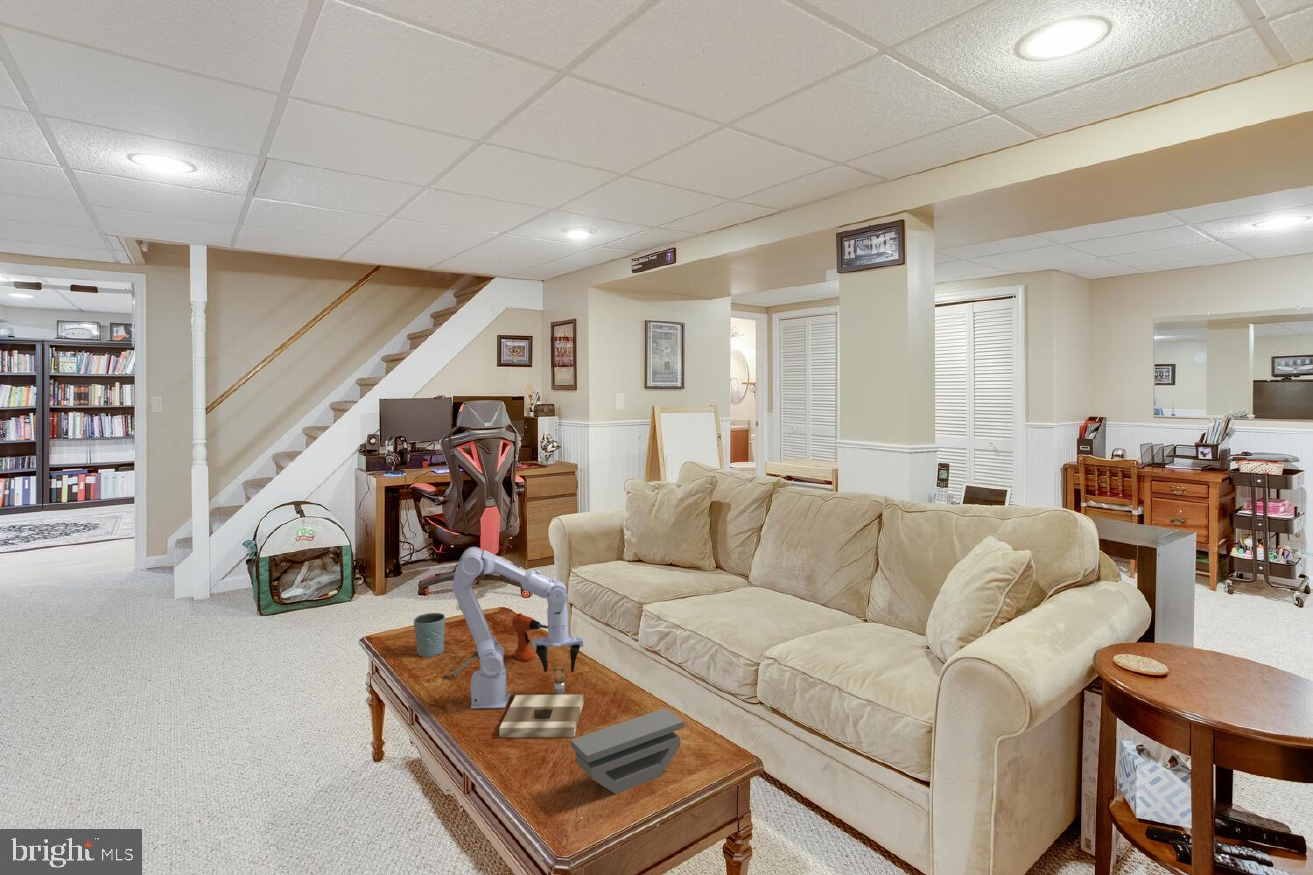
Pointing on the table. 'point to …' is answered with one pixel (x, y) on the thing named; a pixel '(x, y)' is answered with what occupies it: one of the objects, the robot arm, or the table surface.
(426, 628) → the teal cup
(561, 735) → the board
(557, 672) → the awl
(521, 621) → the toy drill
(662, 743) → the grey tapered block
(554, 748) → the table surface
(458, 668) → the tomahawk
